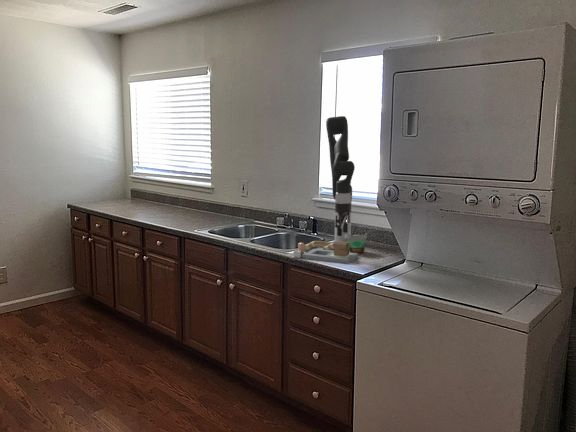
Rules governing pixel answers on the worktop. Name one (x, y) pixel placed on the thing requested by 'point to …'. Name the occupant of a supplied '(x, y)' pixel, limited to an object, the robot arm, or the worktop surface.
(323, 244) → the tan curved piece
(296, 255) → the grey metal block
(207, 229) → the worktop surface
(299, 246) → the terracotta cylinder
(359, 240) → the food container
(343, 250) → the walnut cube
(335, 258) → the grey tray
